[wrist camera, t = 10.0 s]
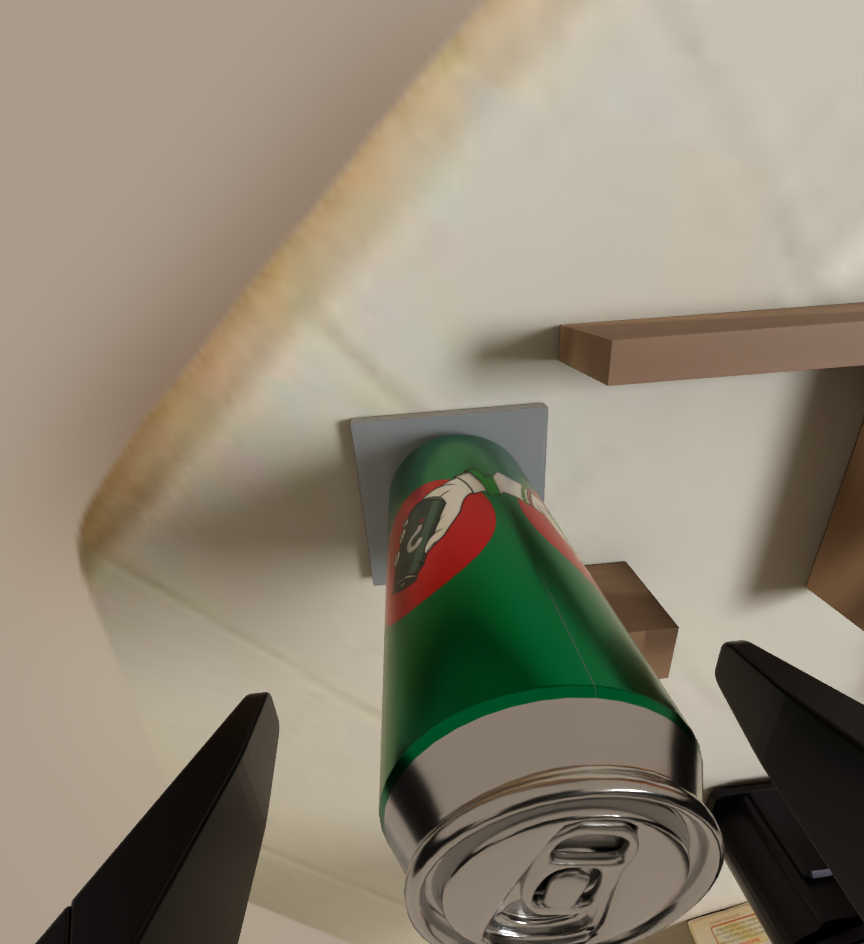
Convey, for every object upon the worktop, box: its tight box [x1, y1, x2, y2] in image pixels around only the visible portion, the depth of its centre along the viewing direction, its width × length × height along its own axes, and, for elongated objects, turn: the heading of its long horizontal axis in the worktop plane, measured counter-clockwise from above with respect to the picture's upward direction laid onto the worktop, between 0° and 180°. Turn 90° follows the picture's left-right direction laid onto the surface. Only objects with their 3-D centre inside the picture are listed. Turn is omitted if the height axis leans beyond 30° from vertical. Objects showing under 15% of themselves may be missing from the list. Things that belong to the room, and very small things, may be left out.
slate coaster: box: [350, 403, 548, 586], centre depth 17 cm, size 7×7×1 cm
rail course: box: [559, 302, 864, 679], centre depth 16 cm, size 13×14×4 cm
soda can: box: [379, 434, 725, 944], centre depth 11 cm, size 5×5×12 cm
